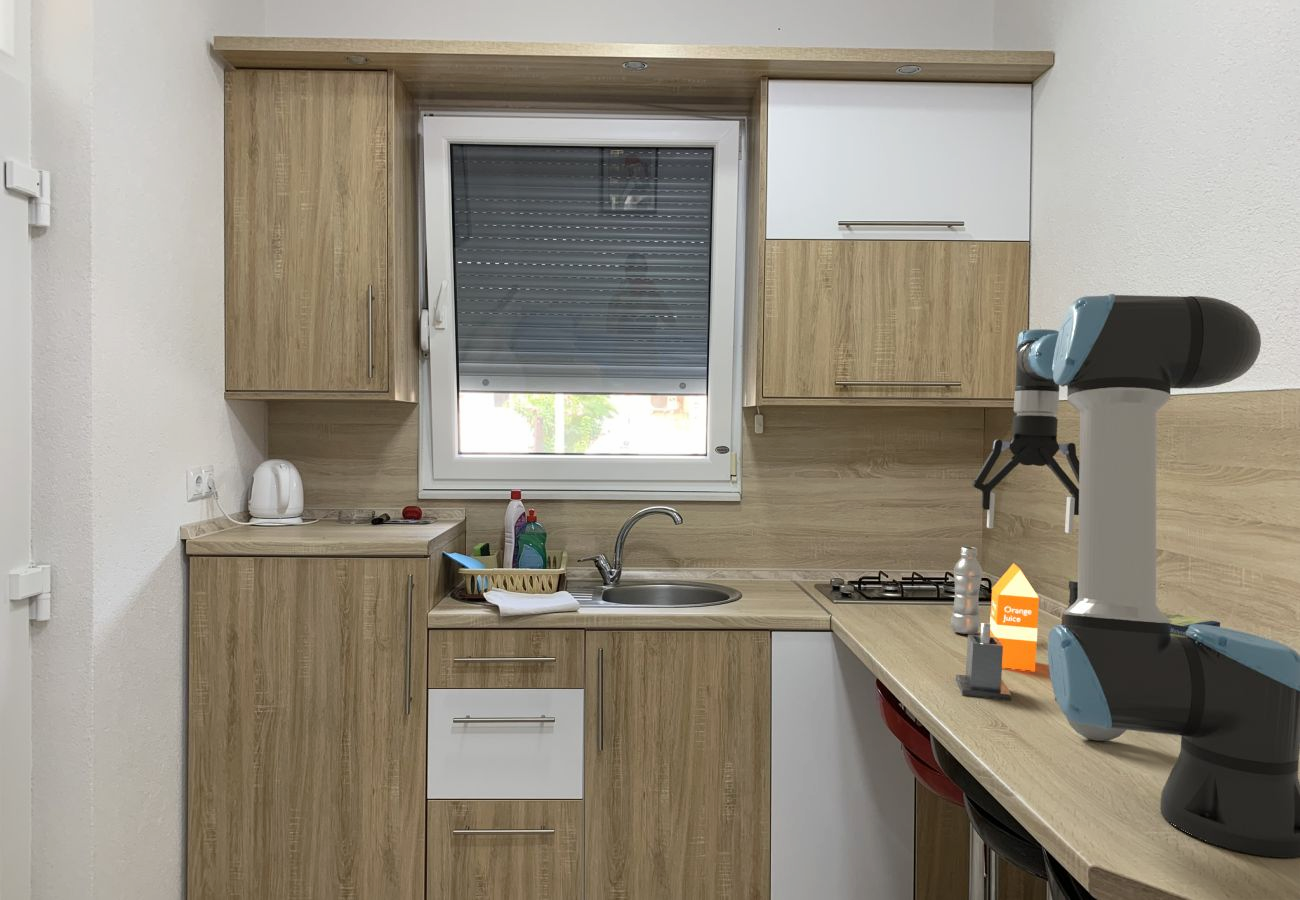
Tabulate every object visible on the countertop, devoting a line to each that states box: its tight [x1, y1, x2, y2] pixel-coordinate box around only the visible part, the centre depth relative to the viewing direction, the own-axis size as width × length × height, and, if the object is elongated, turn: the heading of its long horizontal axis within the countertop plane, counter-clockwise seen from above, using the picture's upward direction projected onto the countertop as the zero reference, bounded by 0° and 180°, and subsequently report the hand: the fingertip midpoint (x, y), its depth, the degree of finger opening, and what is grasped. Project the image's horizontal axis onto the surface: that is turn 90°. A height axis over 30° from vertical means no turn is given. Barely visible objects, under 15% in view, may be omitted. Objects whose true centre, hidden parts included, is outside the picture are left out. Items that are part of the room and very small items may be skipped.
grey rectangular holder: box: [965, 634, 1003, 691], centre depth 158 cm, size 7×5×8 cm
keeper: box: [955, 622, 1012, 701], centre depth 158 cm, size 10×8×12 cm
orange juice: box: [989, 562, 1040, 672], centre depth 177 cm, size 8×9×20 cm
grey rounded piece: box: [1065, 716, 1127, 742], centre depth 133 cm, size 10×4×10 cm, turn 83°
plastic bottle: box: [950, 546, 983, 635], centre depth 203 cm, size 6×7×20 cm
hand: (1028, 530), depth 161 cm, fingers open, 13 cm apart
